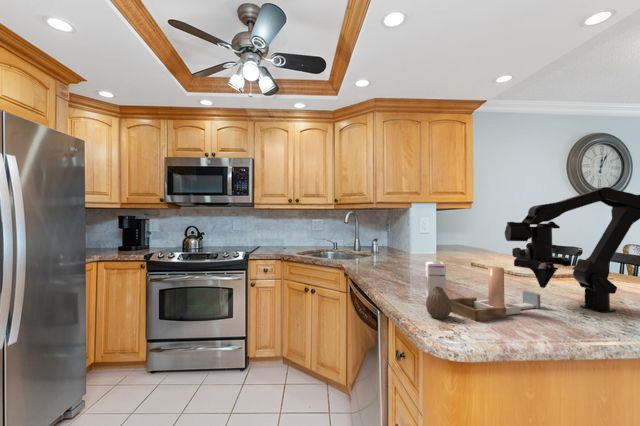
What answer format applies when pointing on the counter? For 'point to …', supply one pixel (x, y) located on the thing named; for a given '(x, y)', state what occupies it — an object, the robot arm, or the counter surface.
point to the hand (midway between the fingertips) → (542, 287)
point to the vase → (438, 303)
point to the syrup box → (435, 276)
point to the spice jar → (496, 286)
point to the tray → (528, 302)
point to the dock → (476, 310)
